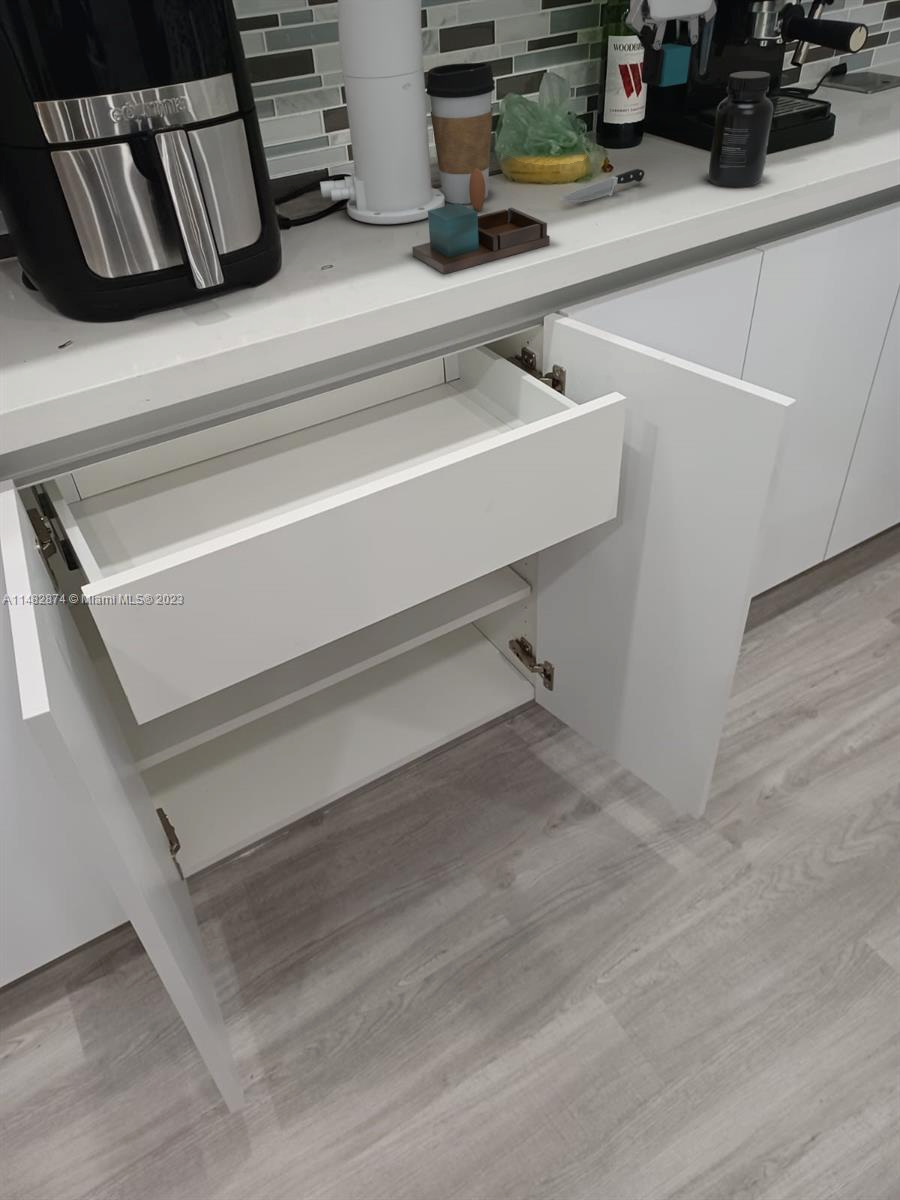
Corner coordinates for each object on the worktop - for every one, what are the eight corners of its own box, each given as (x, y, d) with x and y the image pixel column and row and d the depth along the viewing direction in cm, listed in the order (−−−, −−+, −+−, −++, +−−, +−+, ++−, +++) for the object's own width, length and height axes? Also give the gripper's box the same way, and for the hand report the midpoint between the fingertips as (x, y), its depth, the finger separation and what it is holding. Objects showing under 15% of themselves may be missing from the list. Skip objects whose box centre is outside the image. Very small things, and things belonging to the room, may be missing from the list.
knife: (561, 212, 107) (561, 195, 106) (557, 211, 108) (557, 194, 107) (643, 184, 114) (644, 168, 112) (639, 183, 114) (640, 167, 113)
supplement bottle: (773, 181, 112) (792, 74, 104) (733, 192, 109) (749, 83, 101) (735, 169, 116) (750, 66, 108) (696, 179, 114) (708, 74, 106)
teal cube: (663, 87, 112) (666, 51, 110) (642, 82, 115) (646, 47, 113) (686, 82, 114) (691, 47, 111) (666, 78, 117) (670, 43, 114)
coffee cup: (472, 210, 110) (467, 74, 100) (420, 201, 114) (410, 69, 104) (509, 192, 115) (508, 60, 105) (458, 183, 119) (452, 56, 109)
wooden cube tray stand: (444, 274, 94) (441, 227, 91) (412, 255, 99) (408, 209, 96) (549, 244, 99) (550, 198, 96) (514, 228, 104) (514, 184, 101)
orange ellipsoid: (468, 213, 109) (466, 170, 106) (472, 208, 111) (470, 165, 107) (484, 213, 109) (482, 170, 105) (487, 208, 110) (486, 165, 107)
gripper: (715, -102, 108) (693, 68, 120) (607, -93, 102) (596, 85, 114) (759, -101, 103) (732, 77, 115) (649, -92, 97) (633, 95, 109)
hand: (664, 79), depth 114 cm, fingers closed on teal cube, 4 cm apart
